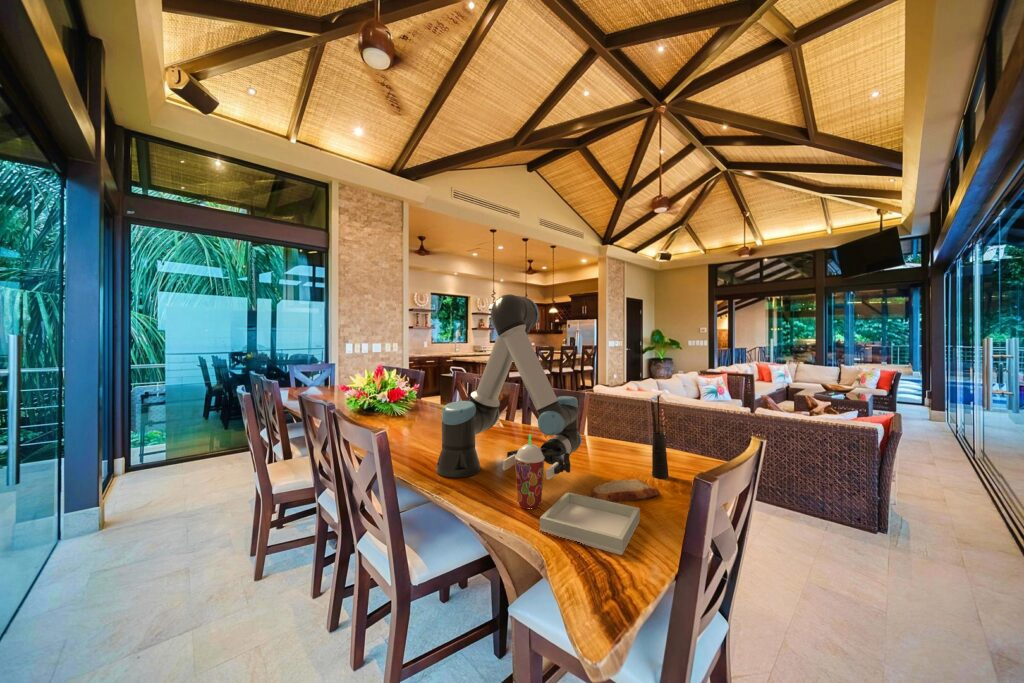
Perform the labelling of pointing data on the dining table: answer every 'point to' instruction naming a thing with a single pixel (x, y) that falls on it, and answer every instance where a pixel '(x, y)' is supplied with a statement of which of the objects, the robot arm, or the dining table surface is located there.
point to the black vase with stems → (659, 453)
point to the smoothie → (529, 475)
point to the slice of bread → (624, 490)
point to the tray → (592, 522)
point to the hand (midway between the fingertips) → (524, 469)
